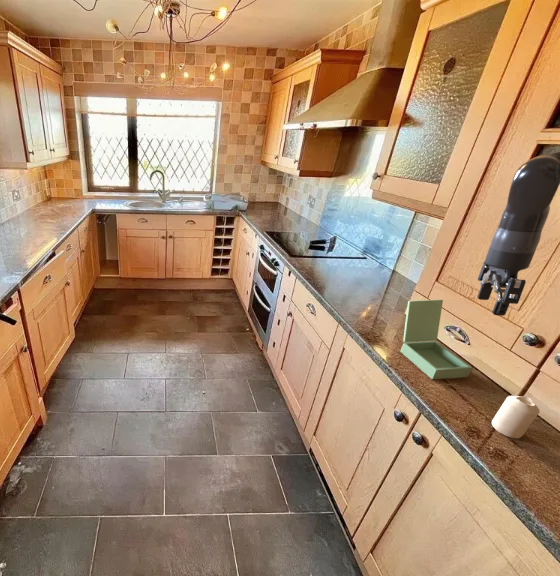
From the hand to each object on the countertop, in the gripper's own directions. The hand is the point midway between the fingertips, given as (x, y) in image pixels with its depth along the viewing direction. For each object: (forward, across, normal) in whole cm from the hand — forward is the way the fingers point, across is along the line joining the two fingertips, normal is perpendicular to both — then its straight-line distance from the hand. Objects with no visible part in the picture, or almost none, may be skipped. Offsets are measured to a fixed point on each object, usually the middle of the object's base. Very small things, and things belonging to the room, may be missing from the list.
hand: (489, 306), depth 79 cm
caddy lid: (+15, +16, +7) cm, 23 cm away
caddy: (+26, +8, +5) cm, 28 cm away
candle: (+27, -14, -5) cm, 31 cm away
